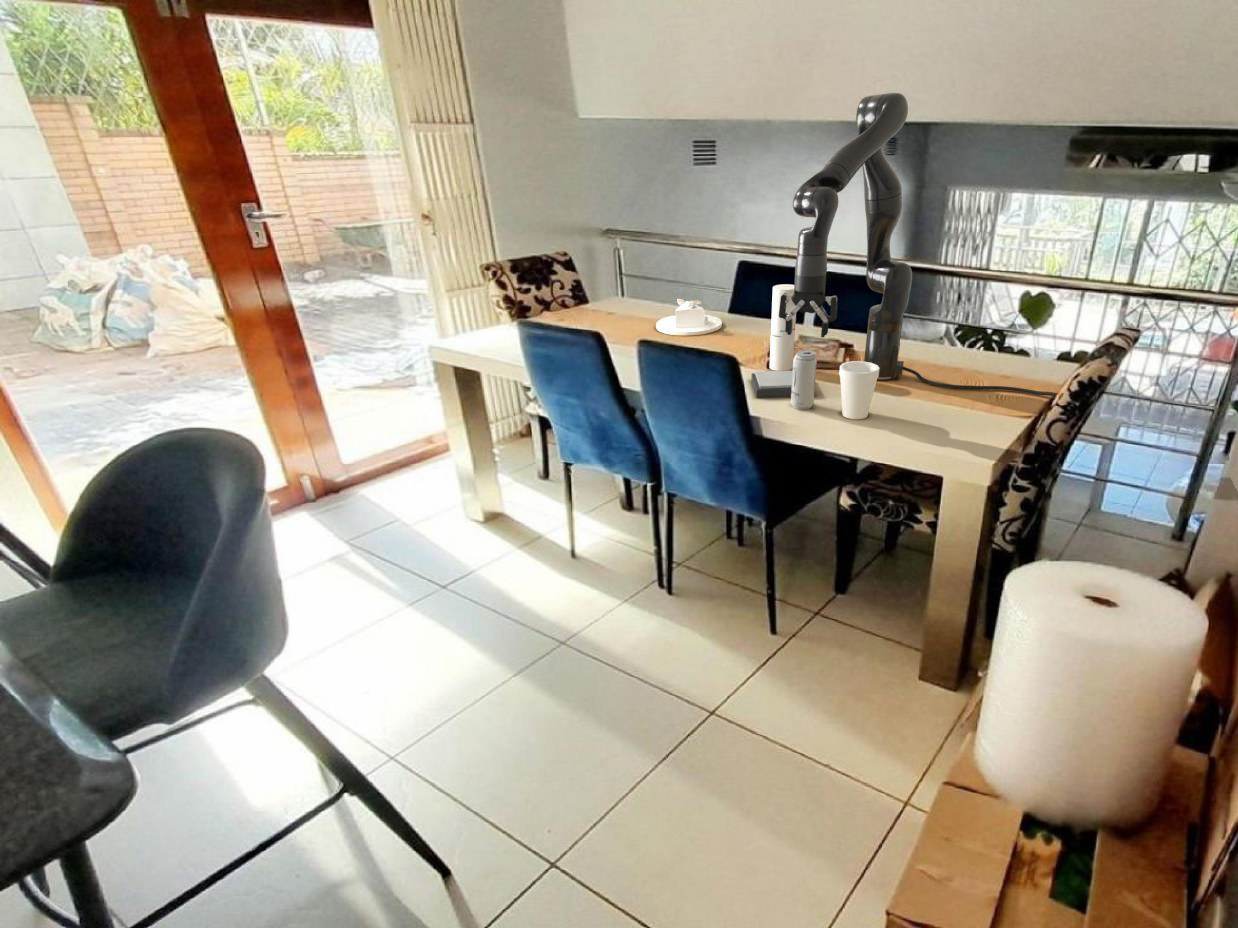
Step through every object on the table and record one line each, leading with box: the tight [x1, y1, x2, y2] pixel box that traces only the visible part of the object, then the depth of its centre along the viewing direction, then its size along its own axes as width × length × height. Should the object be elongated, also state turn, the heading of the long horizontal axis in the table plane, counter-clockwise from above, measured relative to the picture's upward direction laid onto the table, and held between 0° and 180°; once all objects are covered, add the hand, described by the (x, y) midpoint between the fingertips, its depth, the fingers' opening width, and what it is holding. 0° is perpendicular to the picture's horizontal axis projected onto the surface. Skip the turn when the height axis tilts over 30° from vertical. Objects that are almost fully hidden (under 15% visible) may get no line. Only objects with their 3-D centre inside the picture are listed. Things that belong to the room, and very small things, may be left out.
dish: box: [655, 298, 723, 337], centre depth 264 cm, size 25×25×11 cm
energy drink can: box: [790, 349, 818, 411], centre depth 187 cm, size 6×6×15 cm
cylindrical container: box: [769, 283, 797, 371], centre depth 214 cm, size 7×7×25 cm
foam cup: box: [839, 360, 879, 420], centre depth 181 cm, size 10×9×13 cm
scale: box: [750, 370, 816, 399], centre depth 203 cm, size 16×14×3 cm
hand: (806, 335), depth 182 cm, fingers open, 8 cm apart
